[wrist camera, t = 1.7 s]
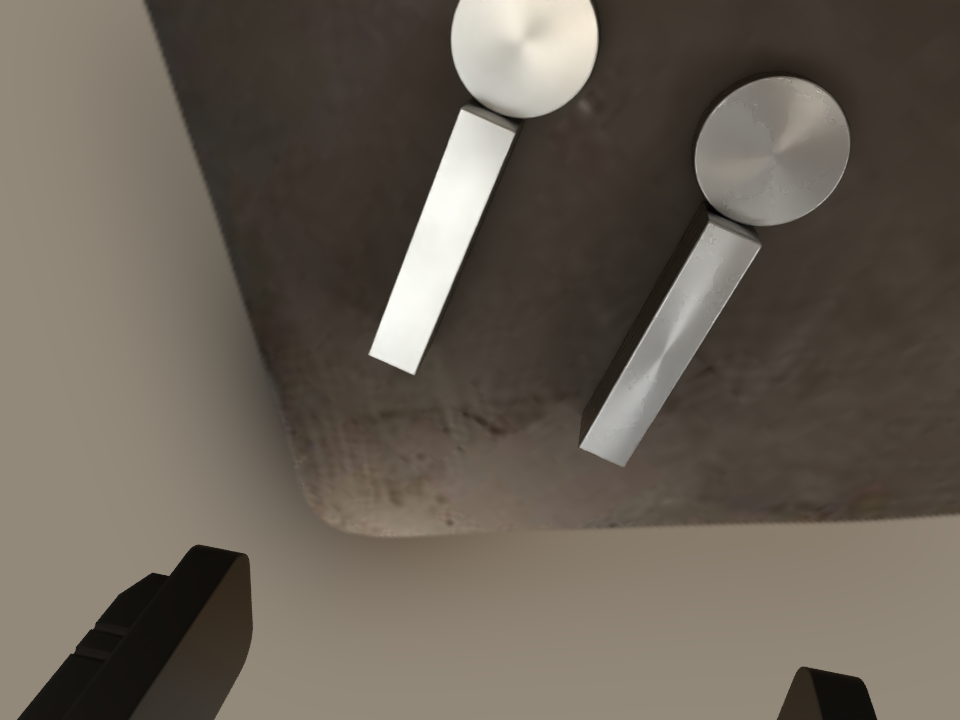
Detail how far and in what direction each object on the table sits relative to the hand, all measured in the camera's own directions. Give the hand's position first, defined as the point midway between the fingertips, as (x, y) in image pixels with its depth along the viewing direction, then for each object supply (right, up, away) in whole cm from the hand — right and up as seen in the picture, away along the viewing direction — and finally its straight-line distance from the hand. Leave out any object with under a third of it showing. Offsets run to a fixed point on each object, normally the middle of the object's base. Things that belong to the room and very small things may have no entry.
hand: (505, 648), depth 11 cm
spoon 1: (-1, +11, +14) cm, 18 cm away
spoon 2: (+7, +7, +14) cm, 18 cm away
